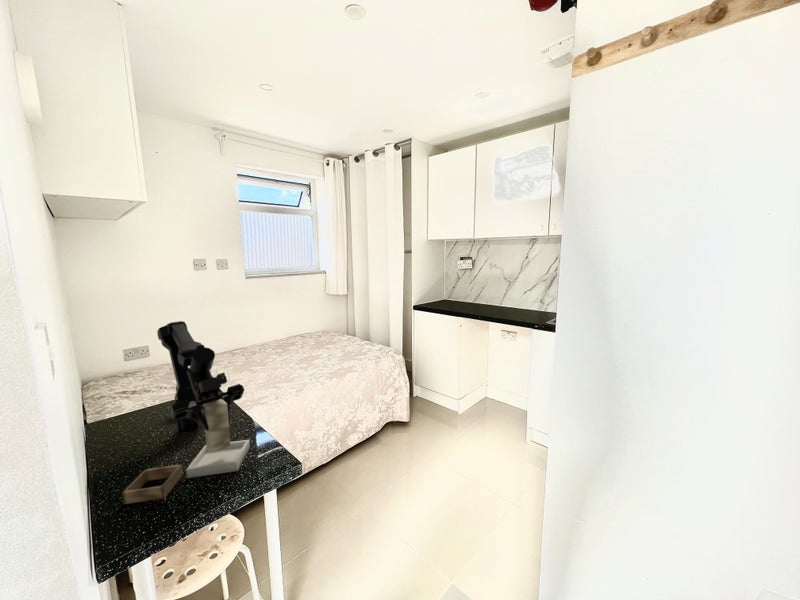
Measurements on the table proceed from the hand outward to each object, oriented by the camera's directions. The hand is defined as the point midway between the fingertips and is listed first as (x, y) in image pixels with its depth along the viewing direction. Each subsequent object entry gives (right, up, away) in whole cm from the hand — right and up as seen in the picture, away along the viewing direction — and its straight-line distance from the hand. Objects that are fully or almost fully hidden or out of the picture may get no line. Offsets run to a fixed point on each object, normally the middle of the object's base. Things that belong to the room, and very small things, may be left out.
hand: (218, 426), depth 91 cm
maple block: (-1, -7, +2) cm, 7 cm away
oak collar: (-12, -13, -8) cm, 20 cm away
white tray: (0, -11, +2) cm, 12 cm away
